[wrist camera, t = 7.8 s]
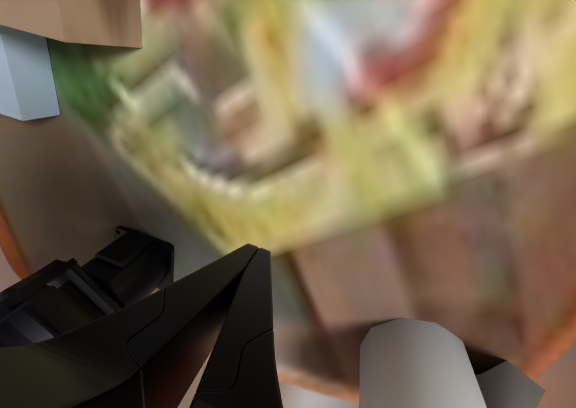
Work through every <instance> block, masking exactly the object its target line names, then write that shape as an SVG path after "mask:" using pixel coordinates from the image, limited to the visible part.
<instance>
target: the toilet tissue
mask: <svg viewBox="0 0 576 408" xmlns="http://www.w3.org/2000/svg"><path fill="white" fill-rule="evenodd" d="M544 393H545V390H544V389H543V388H542V387H540V386H539V385H538V384H537V383H535V382H534V381H533V380H531V379H530V378H529V377H527V376H526V375H525V374H524V373H522V372H521V371H520V370H518V369H517V368H516V367H515V366H513V365H512V364H511V363H509V362H508V361H505V362H503V363H501V364H499V365H497V366H495V367H494V368H492V369H490V370H488V371H486V372H484V373H482V374H478V375H475V374H474V371H473V368H472V366H471V363H470V360H469V357H468V355H467V352H466V349H465V346H464V343H463V341H462V340H461V339H459V338H458V337H456V336H455V335H453V334H452V333H450V332H449V331H447V330H446V329H444V328H443V327H441V326H440V325H439V324H437V323H434V322H426V321H419V320H412V319H405V318H398V319H395V320H392V321H389V322H386V323H383V324H380V325H377V326H374V327H371V328H370V330H369V332H368V333H367V335H366V337H365V338H364V340H363V341H362V343H361V345H360V386H359V408H536V407H537V406H538V403H539V402H540V400H541V398H542V396H543V394H544Z"/></svg>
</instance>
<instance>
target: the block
mask: <svg viewBox="0 0 576 408" xmlns="http://www.w3.org/2000/svg"><path fill="white" fill-rule="evenodd" d="M0 25H3V26H7V27H11V28H15V29H18V30H22V31H26V32H29V33H33V34H37V35H40V36H44V37H48V38H51V39H55V40H59V41H62V42H70V43H83V44H96V45H109V46H122V47H135V48H142V31H141V8H140V0H0Z"/></svg>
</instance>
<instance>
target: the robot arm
mask: <svg viewBox="0 0 576 408" xmlns="http://www.w3.org/2000/svg"><path fill="white" fill-rule="evenodd" d="M114 238H115V241H113V242H112V243H111V244H109V245H108V246H106V247H105V248H104V249H102V250H101V251H99V252H98V253H96V254H95V257H94V258H93V259H91V260H90V261H89V262H87V263H86V264H84V265H83V266H82V267H80V266H79V265H78V264H77V263H78V262H77V261H76V260H75V259H74V258H72V259H70V260H69V261H67V262H65V261H64V262H63V261H60V260H57V259H56V260H55V261H53V262H52V263H50V264H48V265H47V266H45V267H44V268H42V269H40V270H39V271H37V272H36V273H34V274H32V275H30V276H28V277H27V278H25V279H23V280H21V281H19V282H18V283H16V284H14V285H12V286H10V287H9V288H7V289H5V290H4V291H2V292H1V293H0V408H177V407H178V406H179V404H180V402H181V400H182V399H183V397H184V395H185V394H186V392H187V390H188V389H189V387H190V386H191V384H192V382H193V381H194V379H195V377H196V376H197V374H198V372H199V371H200V369H201V367H202V366H203V364H204V362H205V361H206V359H207V357H208V356H209V354H210V352H211V351H212V353H211V355H210V358H209V360H208V363H207V365H206V368H205V370H204V373H203V375H202V378H201V380H200V383H199V385H198V388H197V390H196V394H195V395H194V398H193V400H192V403H191V405H190V408H283V405H282V399H281V394H280V389H279V382H278V376H277V369H276V361H275V350H274V332H273V305H272V277H271V253H270V251H268V250H266V249H263V248H258V247H257V246H254V245H251V244H246V245H244V246H242V247H240V248H238V249H236V250H235V251H233V252H231V253H229V254H227V255H225V256H223V257H221V258H219V259H218V260H216V261H214V262H212V263H210V264H208V265H206V266H204V267H202V268H201V269H199V270H197V271H195V272H193V273H191V274H189V275H187V276H186V277H184V278H182V279H180V280H178V281H176V282H174V283H173V272H174V247H173V246H172V245H171V244H169V243H166V242H163V241H161V240H158V239H155V238H152V237H150V236H147V235H144V234H141V233H138V232H136V231H133V230H130V229H127V228H125V227H122V226H117V227H116V228H114ZM156 288H158V289H161V290H159V291H157V292H155V293H153V294H151V293H152V292H153V291H154V290H155V289H156ZM150 294H151V295H150ZM213 347H214V348H213ZM212 349H213V350H212Z"/></svg>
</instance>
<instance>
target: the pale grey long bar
mask: <svg viewBox="0 0 576 408" xmlns="http://www.w3.org/2000/svg"><path fill="white" fill-rule="evenodd" d="M0 114H3V115H6V116H9V117H12V118H15V119H18V120H21V121H25V120H32V119H38V118H44V117H50V116H56V115H60V111H59V106H58V101H57V95H56V90H55V84H54V79H53V73H52V68H51V63H50V57H49V52H48V46H47V41H46V37H44V36H40V35H37V34H33V33H29V32H26V31H22V30H18V29H15V28H11V27H7V26H3V25H0Z"/></svg>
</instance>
